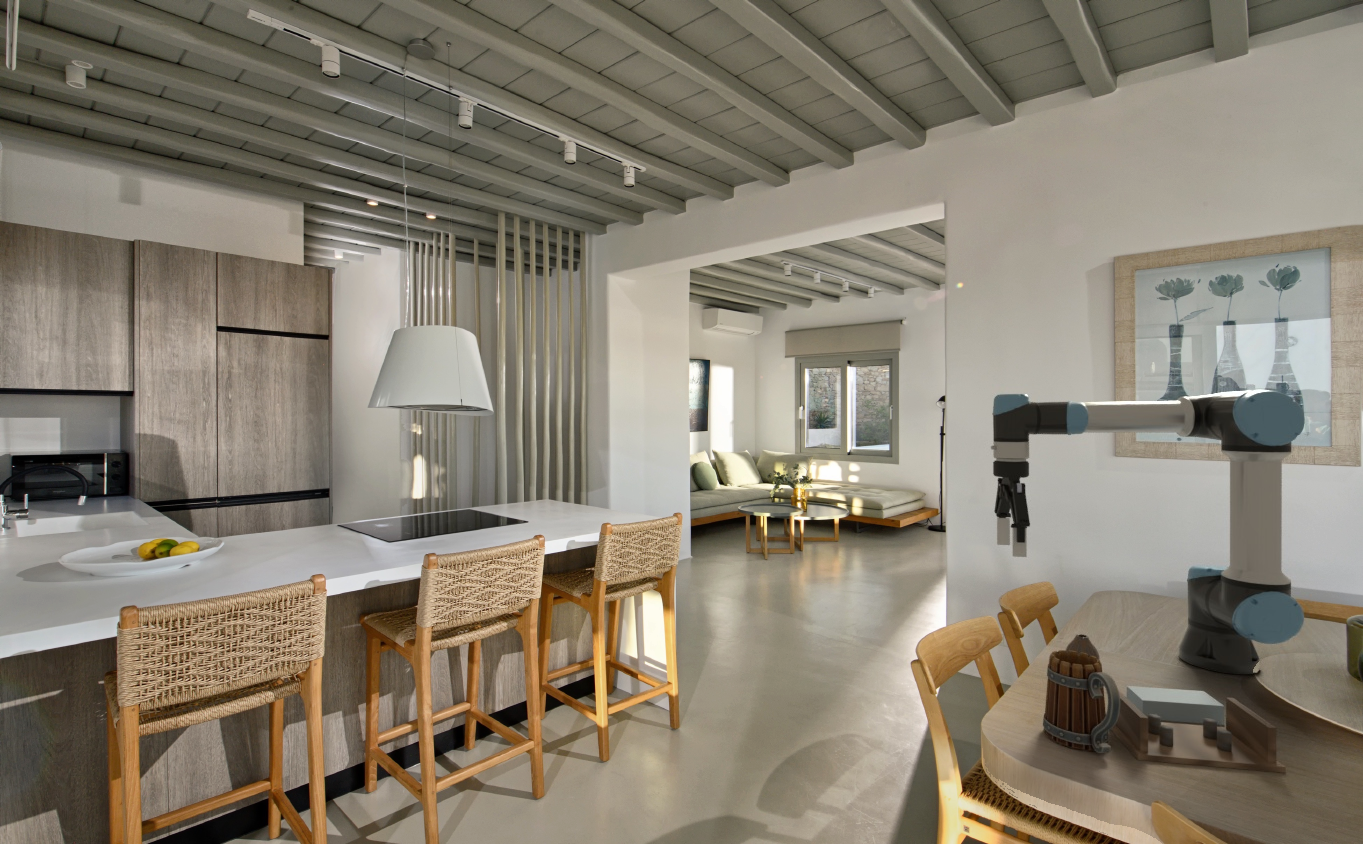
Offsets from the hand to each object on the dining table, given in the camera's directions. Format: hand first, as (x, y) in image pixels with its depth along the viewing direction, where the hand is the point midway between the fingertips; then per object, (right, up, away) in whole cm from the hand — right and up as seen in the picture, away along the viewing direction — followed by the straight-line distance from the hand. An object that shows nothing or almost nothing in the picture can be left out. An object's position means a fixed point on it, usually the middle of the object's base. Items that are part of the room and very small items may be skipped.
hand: (1011, 550), depth 156 cm
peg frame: (+14, -28, -36) cm, 48 cm away
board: (+21, -29, -23) cm, 42 cm away
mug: (-4, -29, -35) cm, 46 cm away
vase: (+15, -28, -2) cm, 32 cm away
